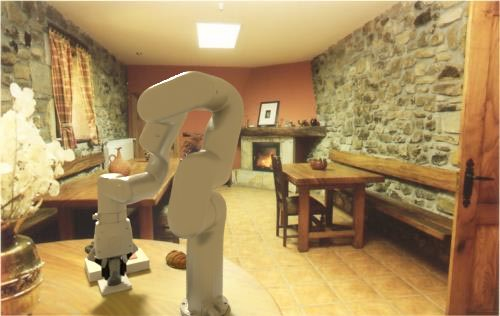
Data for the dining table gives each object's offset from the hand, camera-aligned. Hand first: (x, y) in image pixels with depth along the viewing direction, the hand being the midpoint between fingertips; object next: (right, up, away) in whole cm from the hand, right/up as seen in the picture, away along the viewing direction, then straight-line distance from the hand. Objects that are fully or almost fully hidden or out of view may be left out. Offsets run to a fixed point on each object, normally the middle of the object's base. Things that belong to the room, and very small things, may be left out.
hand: (114, 275), depth 94 cm
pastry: (+15, -2, +17) cm, 23 cm away
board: (-4, -2, +12) cm, 13 cm away
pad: (0, -3, 0) cm, 3 cm away
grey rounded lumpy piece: (-16, 0, +27) cm, 32 cm away
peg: (0, -2, 0) cm, 2 cm away
